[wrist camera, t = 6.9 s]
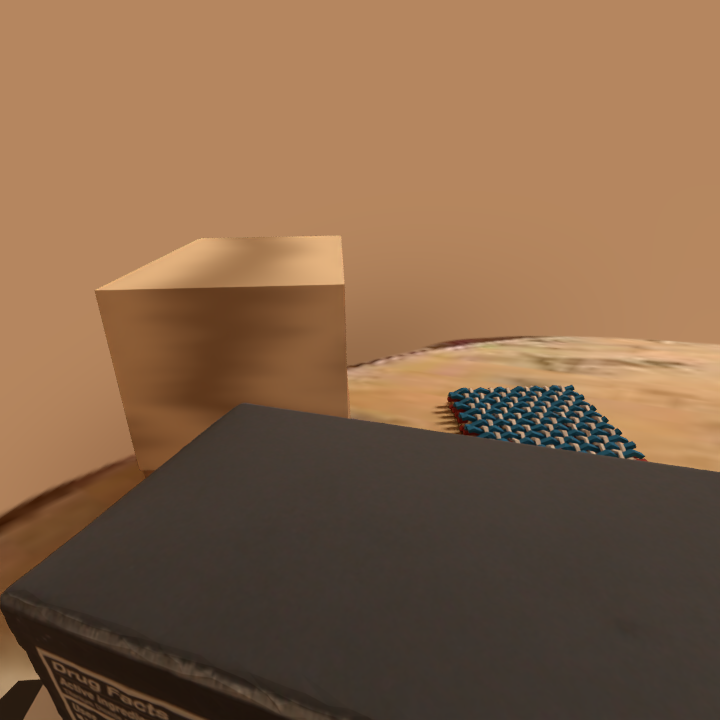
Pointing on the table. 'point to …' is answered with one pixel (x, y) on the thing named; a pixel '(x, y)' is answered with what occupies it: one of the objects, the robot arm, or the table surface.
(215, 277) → the tower top
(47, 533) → the table surface
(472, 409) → the woven mat
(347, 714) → the small box
